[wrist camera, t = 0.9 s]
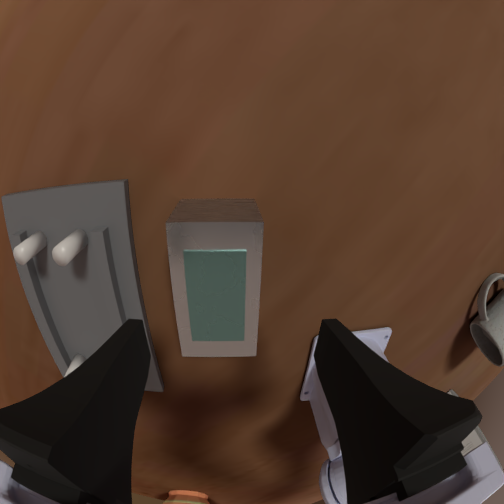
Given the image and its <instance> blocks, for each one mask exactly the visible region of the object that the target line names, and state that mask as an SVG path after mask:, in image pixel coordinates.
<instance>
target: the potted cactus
mask: <svg viewBox="0 0 504 504" xmlns="http://www.w3.org/2000/svg"><path fill="white" fill-rule="evenodd" d="M207 499H208V496H207V495H206V494H203V493H200V492H194V491H187V490H173V491H170V492H169V497H168V498H167V499H166V500H165V501H164V502H163V503H162V504H210V503H209V502H208V501H207Z"/></svg>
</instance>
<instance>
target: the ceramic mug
mask: <svg viewBox="0 0 504 504" xmlns="http://www.w3.org/2000/svg"><path fill="white" fill-rule="evenodd" d="M498 279H502V280H503V281H504V274H501V273H494V274H492V275H490V276H489V277H488V278H487V279H486V280H485V281H484V282H483V284H482V286H481V288H480V291H479V294H478V300H477V304H478V312H479V315H478V316H477V317H476V318H475V319H474V320H473V321H472V322H471V324H470V331H471V334H472V337H473V339H474V341H475V343H476V344H477V346H478V348H479V349H480V350H481V352H482V353H483V354H484V355H485V356H486V357H487V358H488V360H489V361H491V362H492V363H493V364H494V365H496V366H503V365H504V289H503V290H502V291H501V292H500V293H499V294H498V295H497V296H496V297H495V299H494V300H493V301H492V302H491V303H490V304H489V305H488V306H487V307H486V298H487V294H488V291H489V288H490V286H491V285H492V283H493V282H494V281H497V280H498Z"/></svg>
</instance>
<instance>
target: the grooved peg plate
mask: <svg viewBox="0 0 504 504" xmlns="http://www.w3.org/2000/svg"><path fill="white" fill-rule="evenodd" d="M2 203H3V209H4V215H5V220H6V225H7V230H8V235H9V239H10V243H11V247H12V251H13V255H14V259H15V262H16V266H17V269H18V272H19V276H20V279H21V282H22V285H23V288H24V291H25V294H26V296H27V299H28V302H29V305H30V307H31V310H32V312H33V315H34V317H35V320H36V322H37V324H38V327H39V329H40V331H41V334H42V336H43V338H44V340H45V342H46V344H47V346H48V348H49V351H50V353H51V355H52V357H53V358H54V360H55V362H56V364H57V366H58V368H59V370H60V372H61V373H62V375H63V377H65V376H67V375H68V374H69V373H71V372H72V371H74V370H75V369H76V368H77V367H79V366H80V365H81V364H82V363H83V362H84V361H86V360H87V359H88V358H89V357H90V356H91V355H92V354H93V353H94V352H96V351H97V350H98V349H99V348H100V347H101V346H102V345H103V344H104V343H105V342H106V341H107V340H108V339H109V338H110V337H111V336H112V335H113V334H114V333H115V332H116V331H117V330H118V329H119V328H120V327H121V326H122V325H123V324H124V323H125V322H126V321H127V320H128V319H141V320H143V324H144V328H145V333H146V337H147V342H148V346H149V350H150V354H151V360H150V367H149V373H148V379H147V382H146V386H145V391H156V392H163V390H164V384H163V380H162V377H161V373H160V370H159V366H158V362H157V358H156V355H155V351H154V347H153V343H152V338H151V334H150V330H149V325H148V321H147V316H146V311H145V306H144V301H143V296H142V291H141V285H140V279H139V274H138V267H137V261H136V254H135V247H134V239H133V231H132V222H131V212H130V201H129V189H128V179H124V180H112V181H100V182H90V183H81V184H72V185H64V186H56V187H49V188H42V189H35V190H29V191H23V192H17V193H11V194H7V195H4V196H2Z"/></svg>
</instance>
